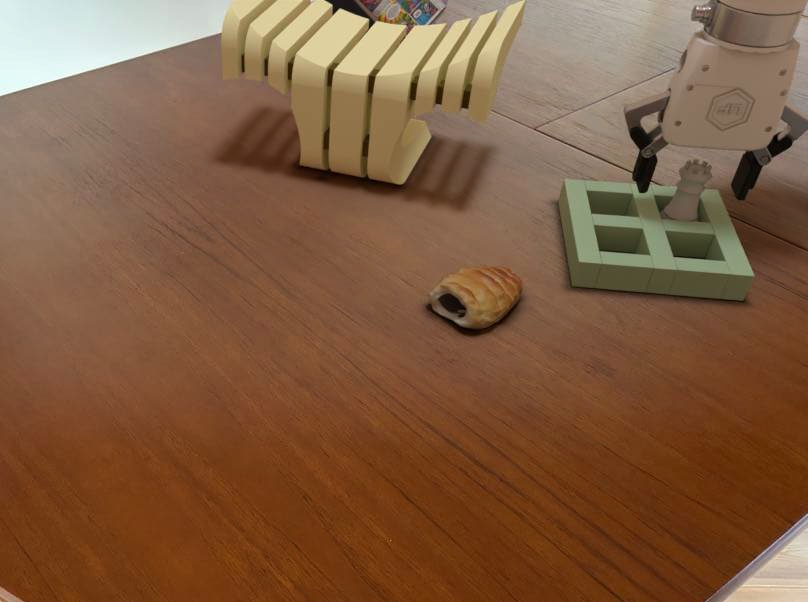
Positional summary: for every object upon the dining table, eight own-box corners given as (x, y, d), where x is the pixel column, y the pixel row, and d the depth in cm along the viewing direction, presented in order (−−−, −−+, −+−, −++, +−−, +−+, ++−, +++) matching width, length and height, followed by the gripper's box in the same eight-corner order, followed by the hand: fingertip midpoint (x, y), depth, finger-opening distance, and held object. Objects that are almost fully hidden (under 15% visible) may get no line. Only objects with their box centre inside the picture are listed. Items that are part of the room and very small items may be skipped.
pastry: (485, 271, 88) (492, 240, 85) (538, 303, 84) (546, 271, 82) (421, 306, 84) (426, 274, 81) (473, 341, 80) (480, 309, 77)
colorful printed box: (432, -4, 133) (384, -112, 121) (501, 41, 117) (454, -77, 105) (325, 79, 136) (268, -18, 124) (379, 133, 121) (319, 29, 109)
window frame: (708, 213, 96) (717, 189, 94) (743, 301, 84) (755, 276, 82) (557, 202, 98) (564, 178, 96) (571, 286, 86) (578, 261, 84)
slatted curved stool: (226, 162, 105) (219, 11, 93) (275, 109, 116) (275, -34, 103) (468, 210, 97) (496, 51, 84) (497, 148, 107) (526, -2, 95)
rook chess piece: (650, 239, 92) (674, 171, 87) (652, 218, 95) (676, 151, 90) (694, 247, 91) (722, 179, 86) (695, 225, 94) (722, 158, 89)
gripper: (659, 32, 76) (607, 202, 88) (867, 42, 74) (785, 215, 86) (645, 2, 81) (598, 167, 93) (839, 11, 79) (766, 178, 91)
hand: (688, 190), depth 90 cm, fingers open, 9 cm apart
